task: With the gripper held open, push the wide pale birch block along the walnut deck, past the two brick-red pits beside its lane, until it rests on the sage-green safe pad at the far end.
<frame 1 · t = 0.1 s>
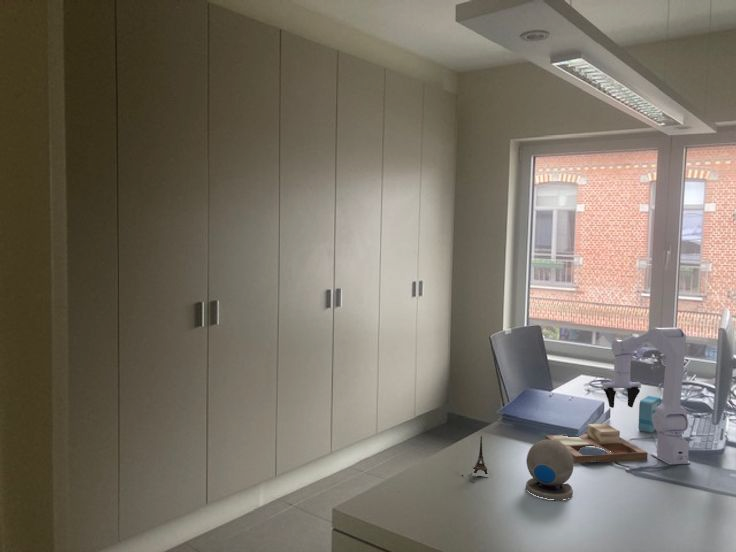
hand: (620, 406, 225), 10 cm above the table, tool pointing down, fingers open, 7 cm apart
trap deck: (594, 450, 206), on the table
webcam: (548, 492, 171), on the table
eiffel tower figurine: (479, 475, 184), on the table
data package: (649, 429, 231), on the table
birch block: (603, 438, 211), point 2 cm above the table, touching trap deck
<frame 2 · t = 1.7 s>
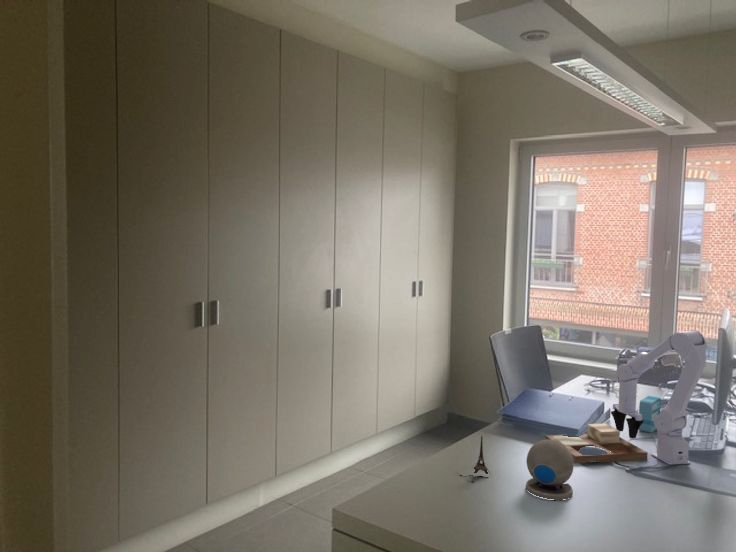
hand: (626, 434, 213), 4 cm above the table, tool pointing down, fingers open, 7 cm apart
nothing on the table moved.
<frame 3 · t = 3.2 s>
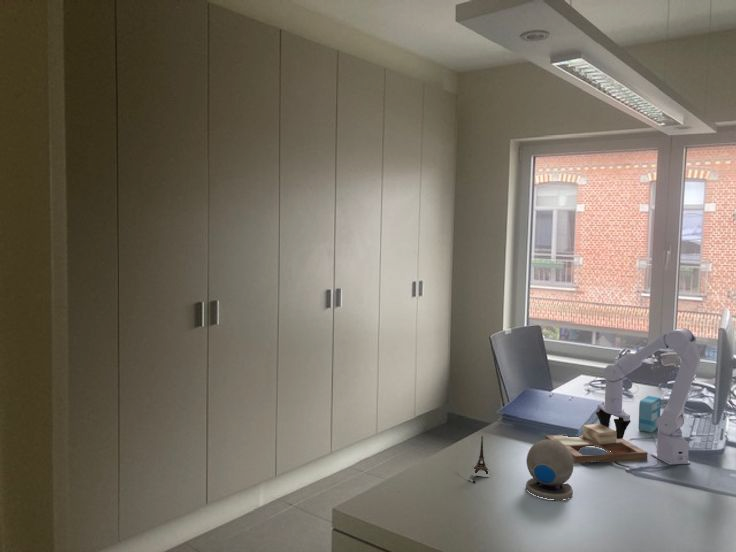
hand: (612, 435, 212), 4 cm above the table, tool pointing down, fingers open, 7 cm apart
birch block: (599, 439, 210), point 2 cm above the table, touching trap deck
everything else where it was.
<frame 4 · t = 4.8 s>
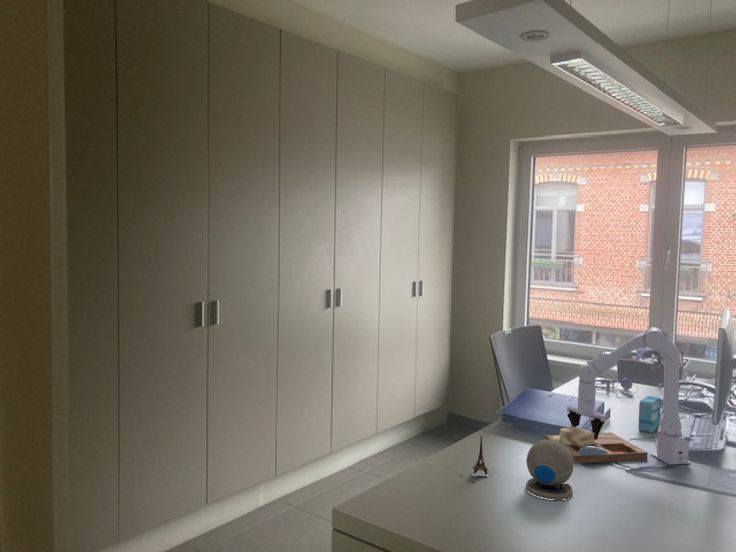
hand: (585, 436, 210), 4 cm above the table, tool pointing down
birch block: (576, 442, 207), point 3 cm above the table, touching gripper, trap deck
everything else where it was.
when the fingers open (4 cm above the table, at t = 5.8 s): birch block stays where it is, resting on trap deck.
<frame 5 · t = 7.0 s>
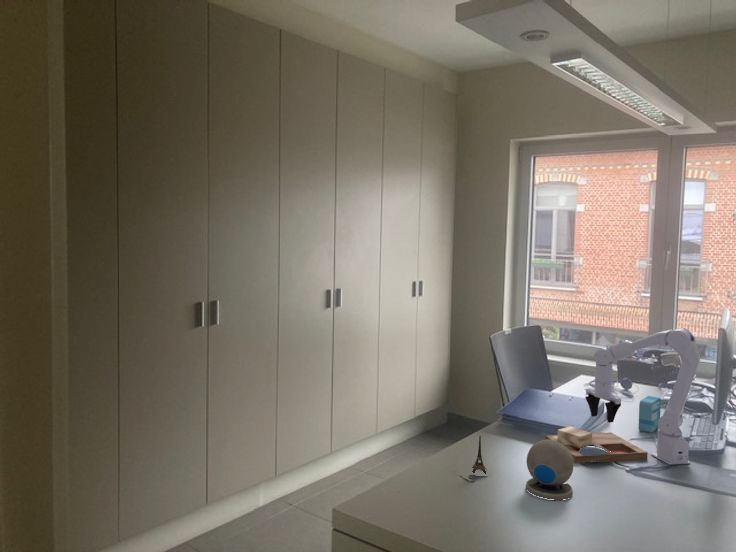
hand: (602, 419, 211), 9 cm above the table, tool pointing down, fingers open, 7 cm apart
birch block: (574, 442, 206), point 3 cm above the table, touching trap deck
everything else where it was.
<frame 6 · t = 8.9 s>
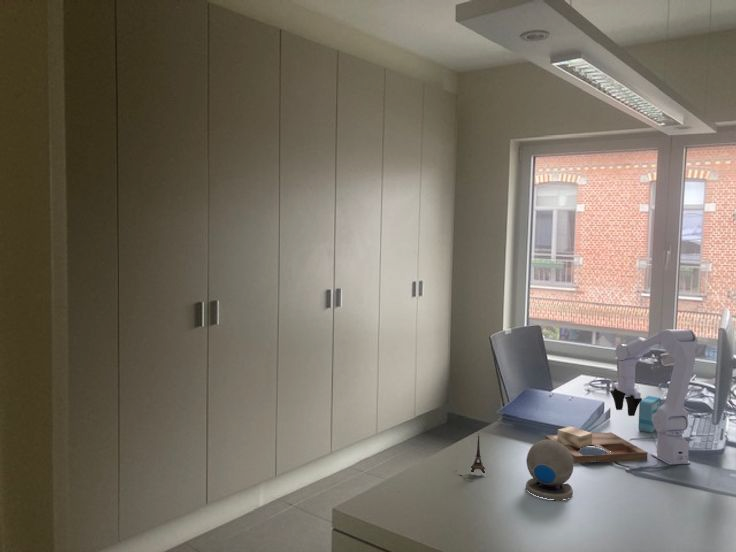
hand: (625, 412, 220), 9 cm above the table, tool pointing down, fingers open, 7 cm apart
at the end: birch block inside the target area (2.7 cm from its centre), point 2.5 cm above the table; birch block tilted 0°; birch block moved 12.8 cm from its start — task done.
